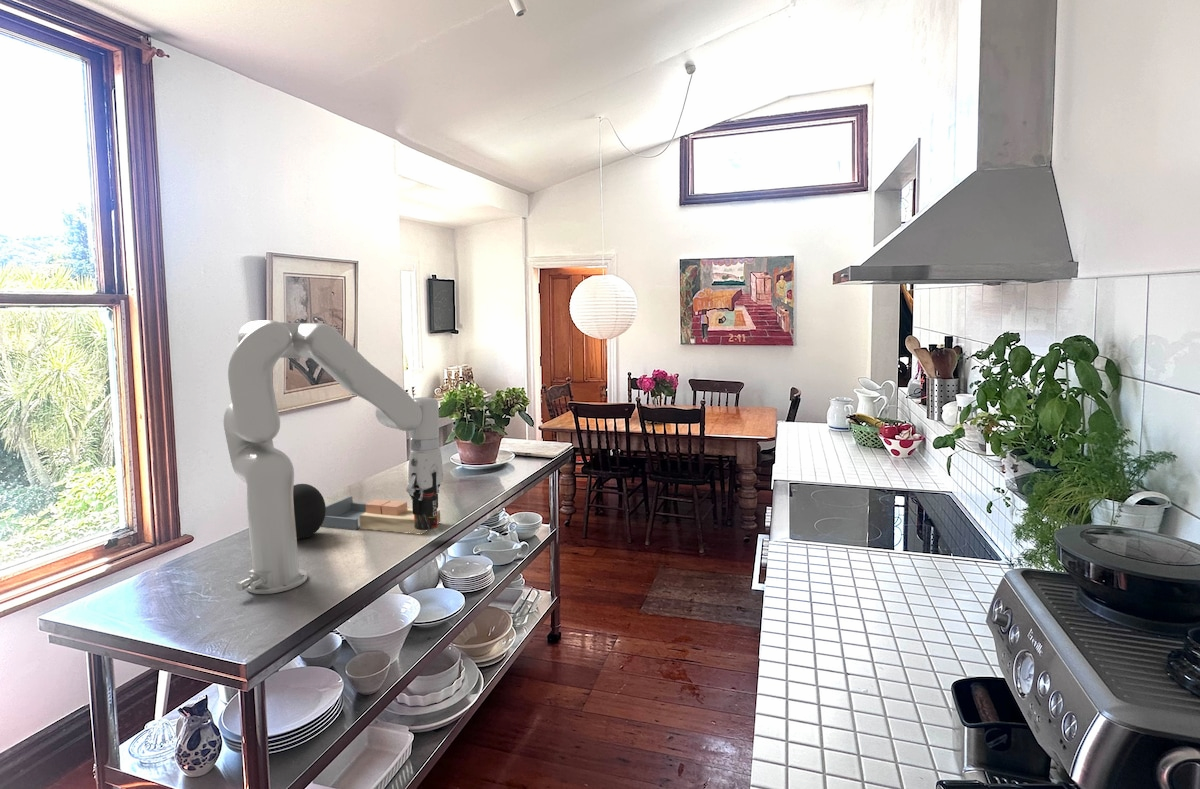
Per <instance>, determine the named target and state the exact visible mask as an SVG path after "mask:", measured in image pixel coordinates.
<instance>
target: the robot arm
mask: <svg viewBox="0 0 1200 789" xmlns="http://www.w3.org/2000/svg"><path fill="white" fill-rule="evenodd" d="M237 336H238V337H237V340H238V344H237V346H236V347H235V349H234V351H233V353H232V354H231V356H230V360H229V363H228V370H227V378H228V384H229V385H228V387H229V394H230V400H231V403H230V404H228V406H227V408H226V409H225V412H224V414H223V429H224V434H225V439H226V444H227V449H228V454H229V457H230V462H231V467H232V470H233V471H234V474H236V476H237V477H238V478H239V479H240V480H241V481H242V482H245V483H246V517H247V525H248V534H249V535H248V536H249V545H250V555H251V568H252V569H251V570H248V576H247V577H246V579H242V580H241V581H238V582H236V583H235V588H236V591H238V592H242V591H244V590H245V589H246V590H247V592H249V593H251V594H255V595H269V594H278V593H282V592H286V591H289V590H292V589H295V588H296V587H299V586H301V585H302V584H303V583H305V582H306V581H307V579H308V572H307V570H305V569H303V568H300V563H299V562H300V561H299V551H298V550H299V549H298V540H297V539H298V538H297V537H296V525H295V514H294V501H293V487H294V485H295V482H294V481H295V469H294V466H293V465H294V464H293V463H292V460H291V458H290V457H289V456H288V455H287V454H286V453H285V452H283V451H282V450H280V449H278V448H275V447H274V442H273V440H274V438H276V437H277V435H278V434H279V432H280V429H281V418H280V413H279V410H278V409H279V408H278V405H277V404H278V403H277V399H276V394H275V391H274V390H275V389H274V381H273V374H274V373H273V371H274V369H275V368H274V367H275V366H276V363H277V362H278V361H279V360H280V358H282V359H283V358H284V359H285V358H286V359H294V358H295V359H312V360H313V361H314V362H315V363H316V364H317V365H319V367H320V368H322V369H323V370H324V371H325V372H326V373H327V374H328V375H329V376H331V377H332V378H333V380H335V381H336V382H337V383H338V384H339V385H340V386H341V387H342V388H343V389H345V390H346V391H348V392H350V393H351V394H352V395H355V396H357V397H359V398H361V399H363V400H364V401H367V402H368V403H370V404H371V405H373V406H374V407H376V409H375V417H376V419H377V421H378V422H379V423H380V424H381V425H383V426H384V427H387V428H390V429H396V430H399V431H402V432H409V451H410V452H409V457H408V471H407V477H408V478H407V480H408V484H407V487H406V492H407V493H408V495H409V496H410V500H411V502H412V507H411V508H413V514H415V515H424V500H422V498H423V493H424V490H427V489H429V488H431V487H432V484H433V476H432V474H433V473H434V472H436V485H437V509H438V508H439V492H440V486H441V484H442V482H443V480H444V469H443V468H444V467H443V458H442V452H441V447H440V421H439V420H440V419H439V418H440V416H439V414H440V413H439V402H438V400H437V398H434V397H427V396H426V397H414V398H412V397H411V396H410V394H409V393H408V392H406V390H404V389H403V387H401V386H400V385H399V384H397V382H395V381H394V380H393V379H391V378H390V377H388V376H387V374H385V373H383V372H382V371H381V370H379V369H378V368H377V367H375V366H374V365H373V364H372V363H370V362H369V361H368V360H367V358H365V357H364V356H363V355H362V354H361V353H360V352H359V351H358V350H357V349H356V348H355V347H354V346H353V345H352V344H351V343H350V342H349V341H348V340H347V339H346V338H345V337H344V336H343V335H342V334H341V333H340V332H339V331H338V329H336V328H334V327H333V326H332V325H330V324H326V323H323V322H321V323H320V322H281V321H276V320H267V319H264V320H263V319H262V320H261V319H260V320H252V321H249V322H247V323H246V324H244V325H243V326H242V327H241V328H240V330H239V331H238V335H237ZM417 485H418V486H419V488H416V486H417ZM416 490H419V491H420V492H419V494H418V493H417V492H416Z"/></svg>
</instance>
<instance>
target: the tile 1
mask: <svg viewBox="0 0 1200 789" xmlns="http://www.w3.org/2000/svg"><path fill="white" fill-rule="evenodd" d="M391 501H392V500H388V499H387V500H386V499H378V498H376V499H374V500H372V501H370V502H367V503H366V504H365V505H366V513H375V514H382V505H384V504H386V503H388V502H391Z"/></svg>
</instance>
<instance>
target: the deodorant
mask: <svg viewBox="0 0 1200 789" xmlns="http://www.w3.org/2000/svg"><path fill="white" fill-rule="evenodd" d="M432 476H433V484H432V487H431V488H429V489H427V490H424V493H423V498H422V500H424V515H415V514H414V528H415V529H417V530H429V531H430V530H434V529H436V528H437V527H438V525H437V510H438V508H437V494H438V493H437V485H436V472H434V473H433V474H432ZM416 488H419V486H418V485H417V486H416ZM416 492H417V493H418V494H419V492H420V491H419V490H416Z"/></svg>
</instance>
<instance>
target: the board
mask: <svg viewBox="0 0 1200 789" xmlns="http://www.w3.org/2000/svg"><path fill="white" fill-rule="evenodd" d="M439 522H441V510H440V509H437V524H438V523H439ZM441 523H442V522H441ZM359 529H360V530H367V529H373V530H372V531H377V530H384V531H383V532H387V531H394V532H393V533H397V532H408V533H409V532H410V533H420V534H421V533H423V532H425V531H426V530H417V529H415V528H414V514H413V508H412V507H408V506H407V511H405V512H403V513H401V514H399V515H386V514H375V513H366V512H365V513H363V514H361V515H360V528H359ZM425 533H426V532H425Z"/></svg>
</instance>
